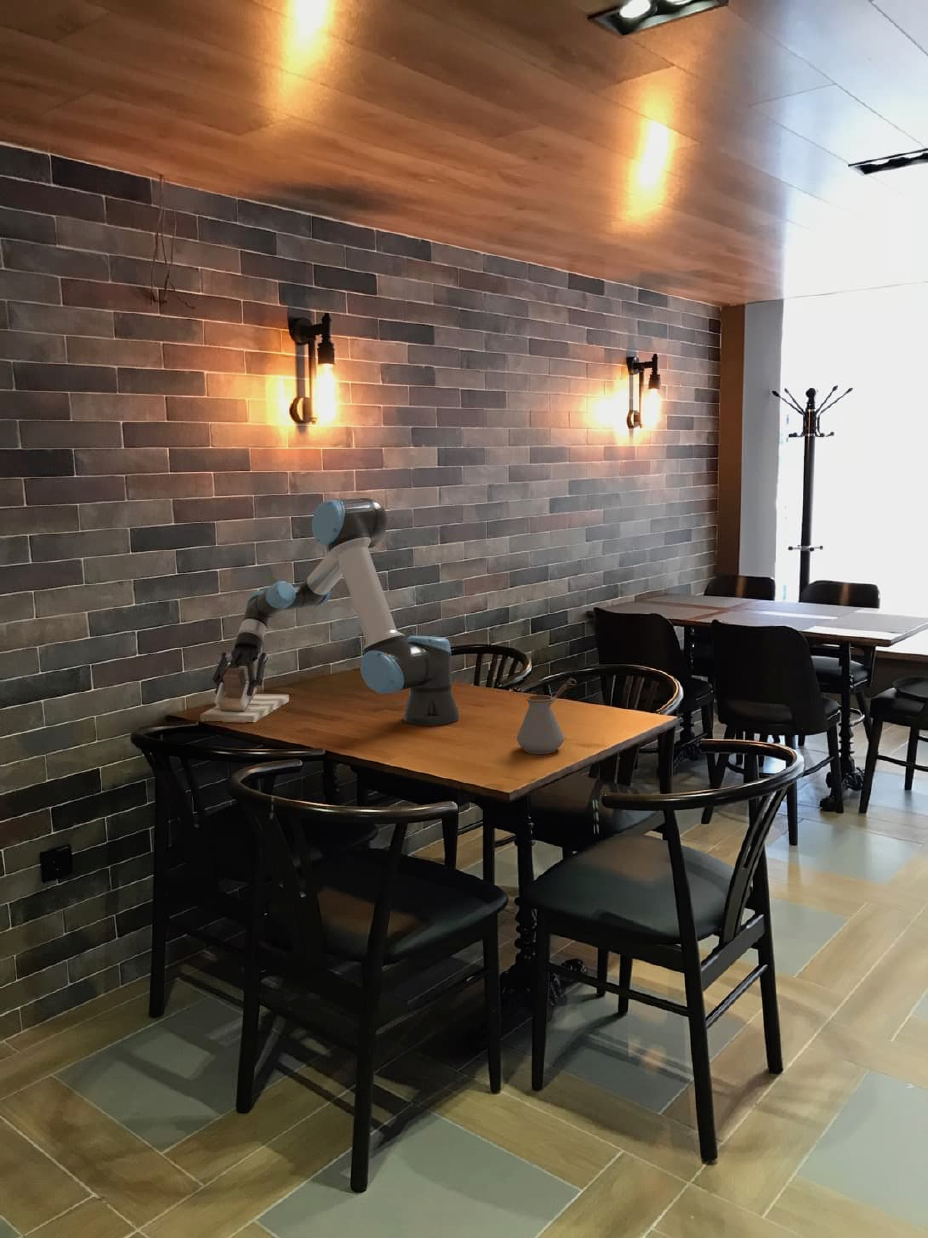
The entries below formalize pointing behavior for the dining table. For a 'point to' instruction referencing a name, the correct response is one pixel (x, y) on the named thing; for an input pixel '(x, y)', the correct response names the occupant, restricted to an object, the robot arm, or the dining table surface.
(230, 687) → the sanding block
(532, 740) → the coffee pot
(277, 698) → the birch board
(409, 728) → the dining table surface
